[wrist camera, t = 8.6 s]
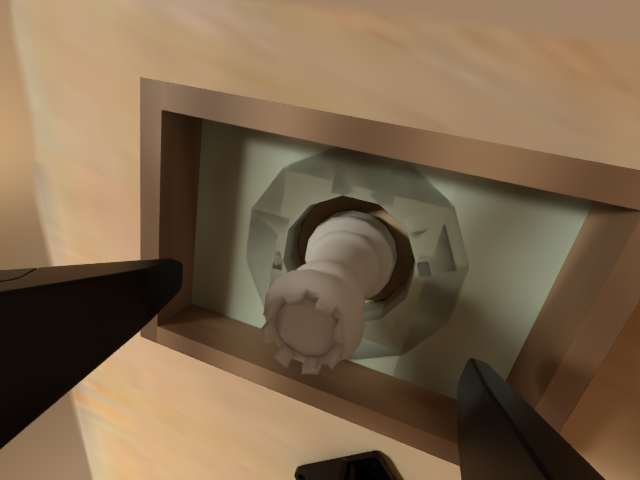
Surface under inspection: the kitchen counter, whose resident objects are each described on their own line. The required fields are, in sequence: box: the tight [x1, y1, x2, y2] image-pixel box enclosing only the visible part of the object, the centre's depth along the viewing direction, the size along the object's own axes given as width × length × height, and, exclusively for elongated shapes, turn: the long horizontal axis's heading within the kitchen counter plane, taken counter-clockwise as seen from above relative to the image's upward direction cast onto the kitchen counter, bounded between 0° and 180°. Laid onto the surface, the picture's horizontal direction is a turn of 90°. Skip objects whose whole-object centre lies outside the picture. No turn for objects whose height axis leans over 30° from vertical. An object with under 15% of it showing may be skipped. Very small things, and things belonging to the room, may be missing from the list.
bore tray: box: [140, 77, 640, 466], centre depth 14 cm, size 18×12×4 cm, turn 79°
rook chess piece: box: [260, 210, 397, 375], centre depth 12 cm, size 4×4×8 cm
